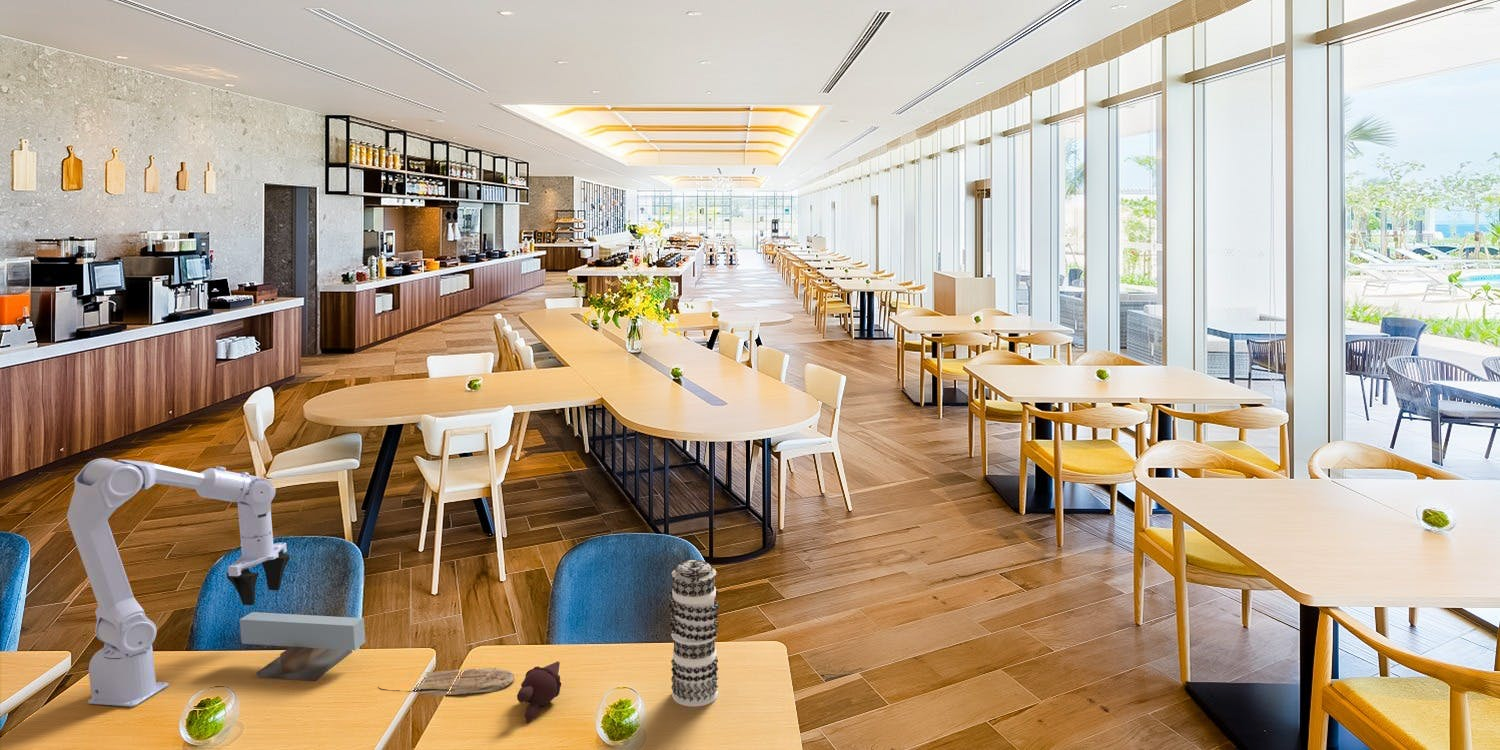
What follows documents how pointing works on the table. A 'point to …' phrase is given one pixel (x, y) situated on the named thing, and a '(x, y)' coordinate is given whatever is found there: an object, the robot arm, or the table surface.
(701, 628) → the white patterned cylinder
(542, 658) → the table surface
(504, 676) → the fish fossil
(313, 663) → the fulcrum
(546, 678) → the icecream
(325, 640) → the batten
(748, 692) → the table surface
